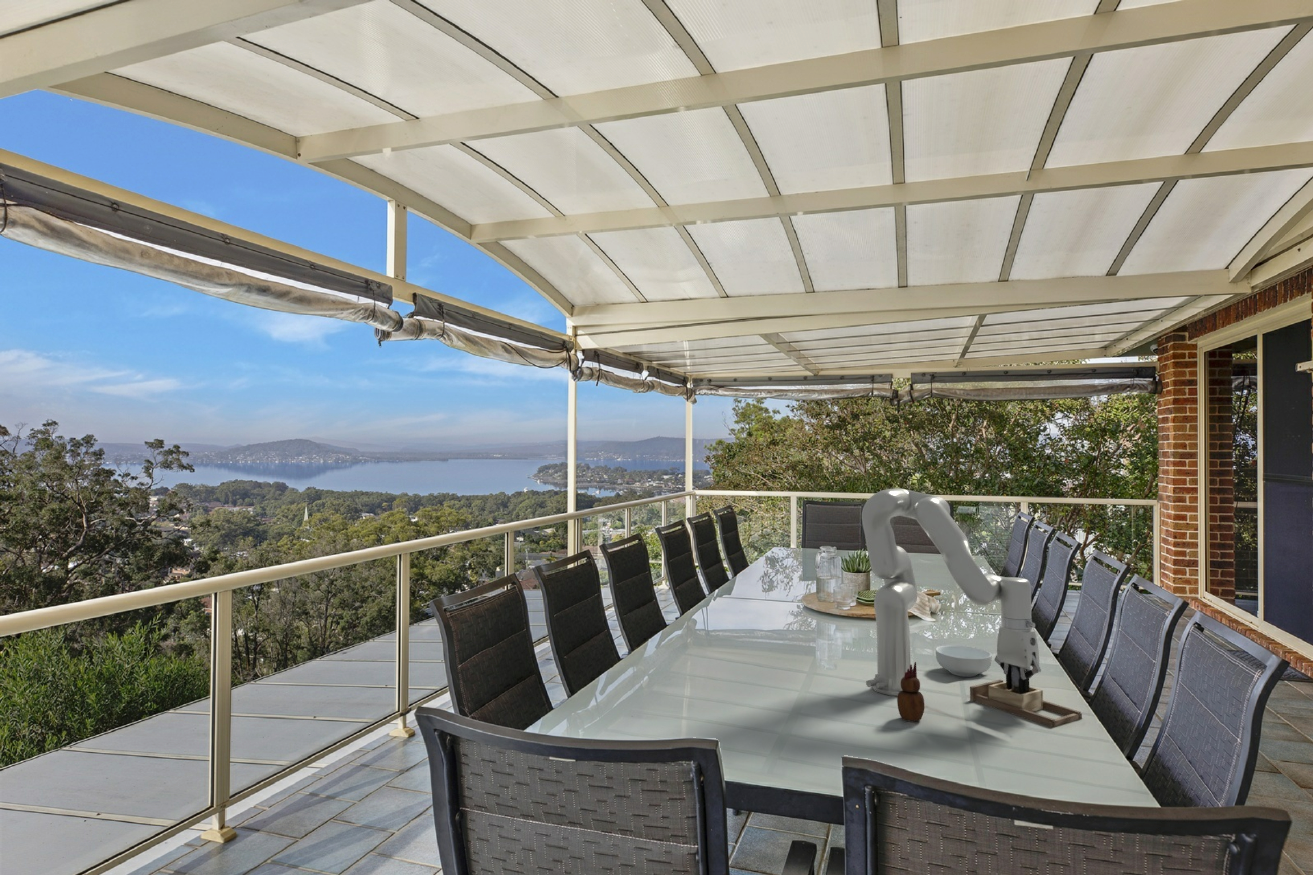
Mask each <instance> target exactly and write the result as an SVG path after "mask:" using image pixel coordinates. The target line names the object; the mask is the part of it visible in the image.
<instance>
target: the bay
mask: <svg viewBox="0 0 1313 875" xmlns="http://www.w3.org/2000/svg"><path fill="white" fill-rule="evenodd" d="M1002 682H1004V680H1002V679H998V680H992V681H989V682H983V683H979V684H975V685H972V686H969V701H971V702H976V703H978V704H982V705H985V706H988V707H990V708H994V709H996V710H999V711H1002V712H1005V713H1008V714H1012V715H1015V716H1017V717H1021V718H1023V719H1027V720H1030V721H1032V722H1035V723H1039V724H1042V725H1044V726H1046V727H1048V728H1055V727H1058V726H1062V725H1065V724H1069V723H1072V722H1075V721H1079V720H1082V719H1083V713H1082V712H1081V711H1080V710H1076V709H1073V708H1070V707H1066V706H1063V705H1060V704H1057V703H1053V702H1050V701H1048V700H1047V701H1046V700H1044V699H1043V709H1044V710H1047V711H1050V712H1054V713H1056V714H1060V715H1064V716H1061V717H1057V718H1053V717H1048V716H1046V715H1042V714H1039V713H1036V712H1035V711H1034V712H1031V711H1028V710H1025V709H1021V708H1018V707H1015V706H1012V705H1009V704H1006V703H1003V702H1000V701H997V700H994V699H991V698H989V685H993V684H997V683H1002ZM1043 709H1042V710H1043Z"/></svg>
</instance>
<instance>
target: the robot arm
mask: <svg viewBox="0 0 1313 875" xmlns="http://www.w3.org/2000/svg"><path fill="white" fill-rule="evenodd" d="M950 508H951V507H950V504H949V503H948V502H947V501H946V500H945V498H943V497H941V496H938V495H935V494H934V495H932V494H927V493H923V492H918V491H914V490H910V489H905V488H902V487H901V488H900V487H897V488H886V489H883V490H880V491H878V492H876V493H874V494H872V496H870V497H869V498H868V499H867V500H866V501H865V503H864V504H863V508H862V512H861V523H862V528H863V534H864V537H865V542H866V548H867V553H868V557H869V563H870V570H871V572H872V573H873V575H874V576H875V577H877V578H878V579H881V580H883V581H884V585H882V586H881V587H880V588H879V589H878V590H877V591H876V593H875V595H874V600H873V604H874V605H873V606H874V607H873V608H874V613H875V614H874V615H875V622H876V625H875V626H876V653H877V655H876V656H877V657H876V658H877V659H876V660H877V661H876V662H877V665H876V666H877V667H876V668H877V674H875V675H874V678H873V679H869V680H868V679H867V680H866V682H865V684H866V687H868V688H871V687H872V689H873V691H875V692H878V693H880V694H882V695H883V694H884V695H887V696H893V697H895V696H896V697H897V696H898V693H899V692H900V691H902V688H901V679H902V678H903V677H904V676H905V672H907V669H909V671H910V665H912V664H911V629H910V628H911V627H910V620H909V614H908V613H909V612H908V611H909V610H911V609H913V607H914V606H915V605H916V604H917V600H918V590H917V589H918V588H917V584H916V579H915V574H914V569H913V565H912V561H911V558H910V556H909V554H908V552H907V550H905V549H904V548H903V547H901V546H899V545H897V543H896V537H895V533H894V528H893V527H892V524H891V519H893V518H895V517H899V516H900V517H904V518H909V519H913V520H916V521H917V523H918V525H920V527H921V529H922V530H923V531H924V533H926V535H927V537H928V538H929V539H930V541H932V543H933V545H934V546H935V547H936V548H937V550H938V551H939V553H940V554H941V557H942V559H943V561H944V564H945V565H946V567H947V569H948V571H949V573H950V575H951V576H952V578H953V579H954V581H955V583H956V584H957V586H959V588H960V590H962V592H963V593H964V595H965V596H966V597H967V598H968V600H970V602H972V603H973V604H975V605H977V606H988V605H990V604H992V603H993V602H996V601H1000V622H1001V624H1000V626H999V627H998V633H997V640H996V643H997V644H996V655H995V657H994V662H995V663H996V664H998V665H999V666H1000V668H1001V669H1002V670H1003V674H1004V675H1005V682H1006V685H1007V690H1011V665H1014V666H1017V667H1020V672H1021V679H1019V692H1020V693H1021V694H1024V693H1028V692H1029V686H1030V679H1031V678H1032V676H1034V675H1036V674H1039V673H1041V672H1042V668H1041V667H1040V652H1039V651H1040V650H1039V643H1038V642H1039V641H1038V637H1037V634H1036V631H1035V630H1034V628H1036V623H1035V622H1033V619H1032V587H1031V586H1032V584H1031V582H1030V580H1028V579H1027V578H1025V577H1024V578H1023V577H1013V576H1012V577H1011V576H1010V577H1009V576H1008V577H1005V576H1000V575H996V574H991V573H983V571H982V570H981V569H980V567H979V566H978V564H977V563H976V561H975V560H974V557H973V555H972V554H971V553H972V552H971V549H970V543H969V539H968V538H967V536H966V534H965V533H964V532H963V530H962V529H961V528H960V527H959V525H958V524H957V523H956V521H955V520H954V518H953V517H952V516H951V509H950ZM1031 667H1032V668H1031Z"/></svg>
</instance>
